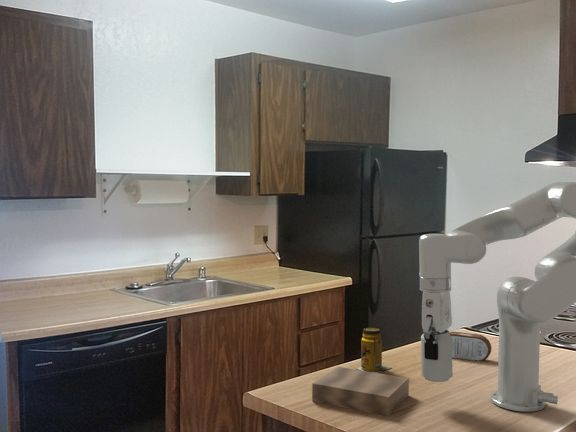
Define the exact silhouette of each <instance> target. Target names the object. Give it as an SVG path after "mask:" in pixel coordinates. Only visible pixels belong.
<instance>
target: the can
mask: <svg viewBox="0 0 576 432" xmlns="http://www.w3.org/2000/svg"><path fill="white" fill-rule="evenodd" d="M430 330H435V329H430ZM449 332H450V331H449V329H447V330H445V331H444V332H443V333H439V332H438V335H437V342H436V343H438V360H430V359H425V351H424V333H422V334H421V336H420V349H421V350H420V351H421V353H420V356H421V360H420V361H421V376H422V377H423V378H424V379H425V380H427V381H429V382H433V383H443V382H448V381H449V380H450V379H451V378H452V377H453V358H452V337H451V336H450V335H449ZM432 336H433V338H434V334H432Z"/></svg>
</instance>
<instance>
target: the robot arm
mask: <svg viewBox="0 0 576 432" xmlns="http://www.w3.org/2000/svg"><path fill="white" fill-rule="evenodd" d="M562 218H570V219H575V220H576V181H559V182H558V181H557V182H553V183H550V184H548V185H546V186H543V187H542V188H540V189H538V190H536V191H534V192H532V193H530V194H528V195H526V196H525V197H522V198H521V199H517V201H515V202H512V203H511V204H509V205H506V206H504V207H501V208H499V209H496V210H494V211H492V212H490V213H487V214H484V215H481V216H479V217H477V218H474V219H472V220H470V221H468V222H466V223H463V224H462V225H460V226H458V227H457V228H454V229H453V230H451V231H449V232H448V233H447V234H445V233H425V234H422V235H421V236H420V237H419V238H418V239H419V240H418V251H419V252H418V253H419V254H418V256H419V257H418V258H419V263H418V264H419V291H421V292H422V301H421V328H422V334H424V351H425V359H430V360H438V343H436V342H437V335H438V332H439V333H443V332H444V331H445V330H449V329H450V328H451V326H452V325H453V317H452V316H453V315H452V303H451V302H452V301H451V293H450V292H451V291H452V263H453V264H454V263H455V264H464V265H474V264H477V263H479V262H480V261H482V260H483V259H484V258H485V256H486V254H487V246H488V245H491V244H493V243H495V242H499V241H500V242H501V241H506V240H515V239H520V238H524V237H527V236H529V235H531V234H532V233H534V232H536V231H538V230H539V229H542V228H543V227H546V226H548V225H549V224H551V223H553V222H555V221H557V220H560V219H562ZM534 276H535V278H536V281H535V280H532V279H530V278H526V277H523V276H512V277H508V278H506V279H505V280H504V281H502V283H501V284H500V285H499V287H498V289H497V292H496V293H497V294H496V305H497V307H496V308H497V311H498V312H497V313H498V323H499V324H498V327H499V328H498V362H497V363H498V365H497V391H494V392H493V393H492V394H491V395H490V400H491V402H492V403H493V404H495V405H496V406H497V407H500V408H503V409H505V410H510V411H514V412H515V411H516V412H523V413H524V412H526V413H529V412H531V413H532V412H538V411H541V410H543V409H544V408H545V407H546V403H549V404H554V405H558V400H559V397H558V395H554V393H553V392H546V391H544V390H542V385H539V384H540V383H539V379H540V352H541V351H540V346H541V345H540V344H541V329H540V324H544V323H548V322H549V321H550V322H551V320H553V319H555V318H556V317H558V316H559V315H560V314H562V313H563V312H564V311H566V310H567V309H569V308H570V307H571V306H572V305H574V304H576V231H575V232H574V233H573V234H572V236H570V237H569V238H568V239H566V240H565V242H563V243H562V244H560V245H559V246H558V247H556V248H554V249H553V250H552V251H551V252H549V253H547V254H546V255H545V256H543V257H542V258H541V259H539V261H538V262H537V264H536V265H535V267H534ZM430 329H435V330H430ZM432 334H434V338H433V336H432Z"/></svg>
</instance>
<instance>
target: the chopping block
mask: <svg viewBox="0 0 576 432" xmlns="http://www.w3.org/2000/svg"><path fill="white" fill-rule="evenodd" d="M409 382H410V378H409V377H403V376H396V375H390V374H384V373H380V372H379V373H373V372H367V371H361V370H358V369H355V368H353V369H352V368H348V367H341V366H336V368H334V369H332V370H330V371H329V372H328V373H326V374H324V375H323V376H322V377H320V378H318V379H316V380H315V381H314V382H312V384H311V385H312V387H311V392H312V393H311V396H312V398H311V402H314V403H320V404H325V405H329V406H334V407H340V408H345V409H351V410H354V411H355V410H356V411H360V412H366V413H369V414H374V415H381V416H386V417H389V416H390V415H392V413H393V412H394V411H395V410H396V409H398V407H399V406H400V405H401V404H402V403H403V402H404V400H406V398H408V397H409V393H410V392H409V390H410V386H409V385H410V383H409Z"/></svg>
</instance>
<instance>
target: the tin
mask: <svg viewBox="0 0 576 432" xmlns="http://www.w3.org/2000/svg"><path fill="white" fill-rule="evenodd" d="M449 335H450V336H451V337H452V359H458V360H465V361H466V360H467V361H473V360H477V361H476V362H484V361H486V360H487V359H488V358H489V356H490V355H491V354H492V344H491V342H490V341H489V339H488V338H487V337H486V336H484V335H482V334H478V333H469V332H460V331H449ZM478 360H479V361H478Z"/></svg>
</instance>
